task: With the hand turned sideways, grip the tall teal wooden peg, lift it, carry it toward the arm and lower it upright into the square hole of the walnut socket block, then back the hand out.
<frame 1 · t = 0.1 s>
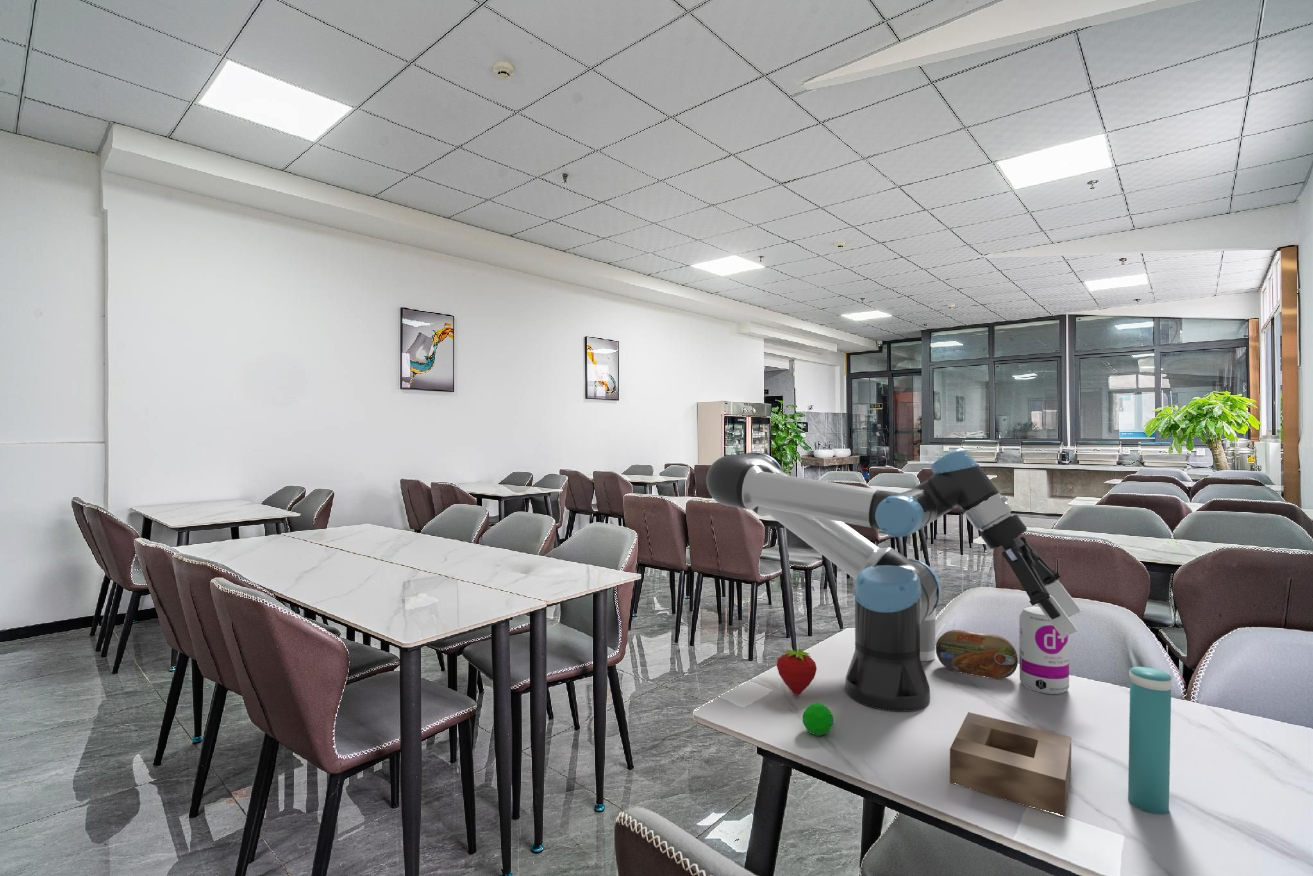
hand: (1072, 623, 115), 15 cm above the table, tool tilted 35°, fingers open, 13 cm apart
tin: (975, 674, 132), on the table
supplement can: (1043, 687, 124), on the table, touching gripper
socket block: (1011, 776, 93), on the table
strawberry: (796, 695, 122), on the table
peg: (1148, 804, 87), on the table
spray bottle: (918, 656, 141), on the table
polyhedron: (817, 734, 107), on the table
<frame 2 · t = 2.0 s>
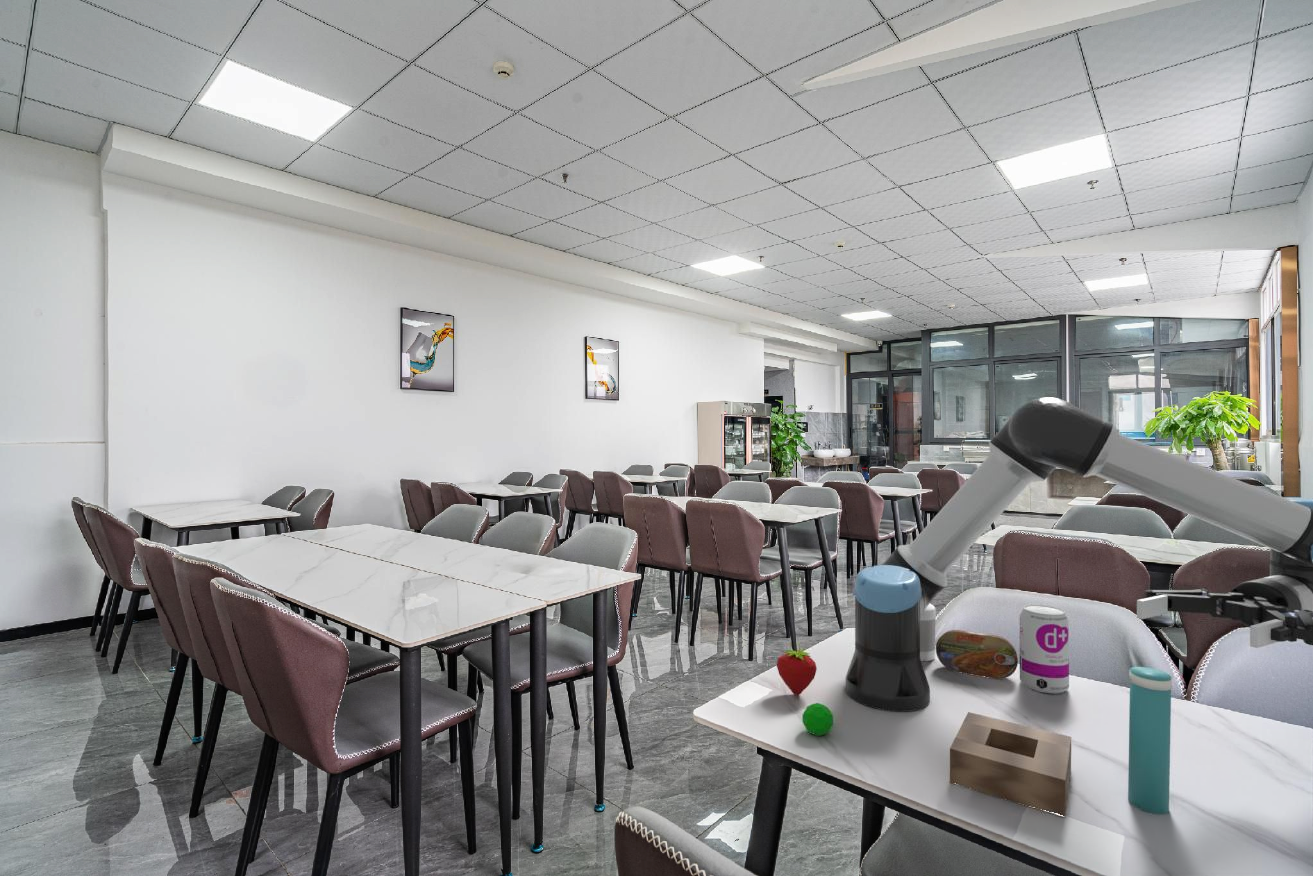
hand: (1192, 622, 90), 24 cm above the table, tool horizontal, fingers open, 13 cm apart
supplement can: (1043, 687, 124), on the table
everything else where it was.
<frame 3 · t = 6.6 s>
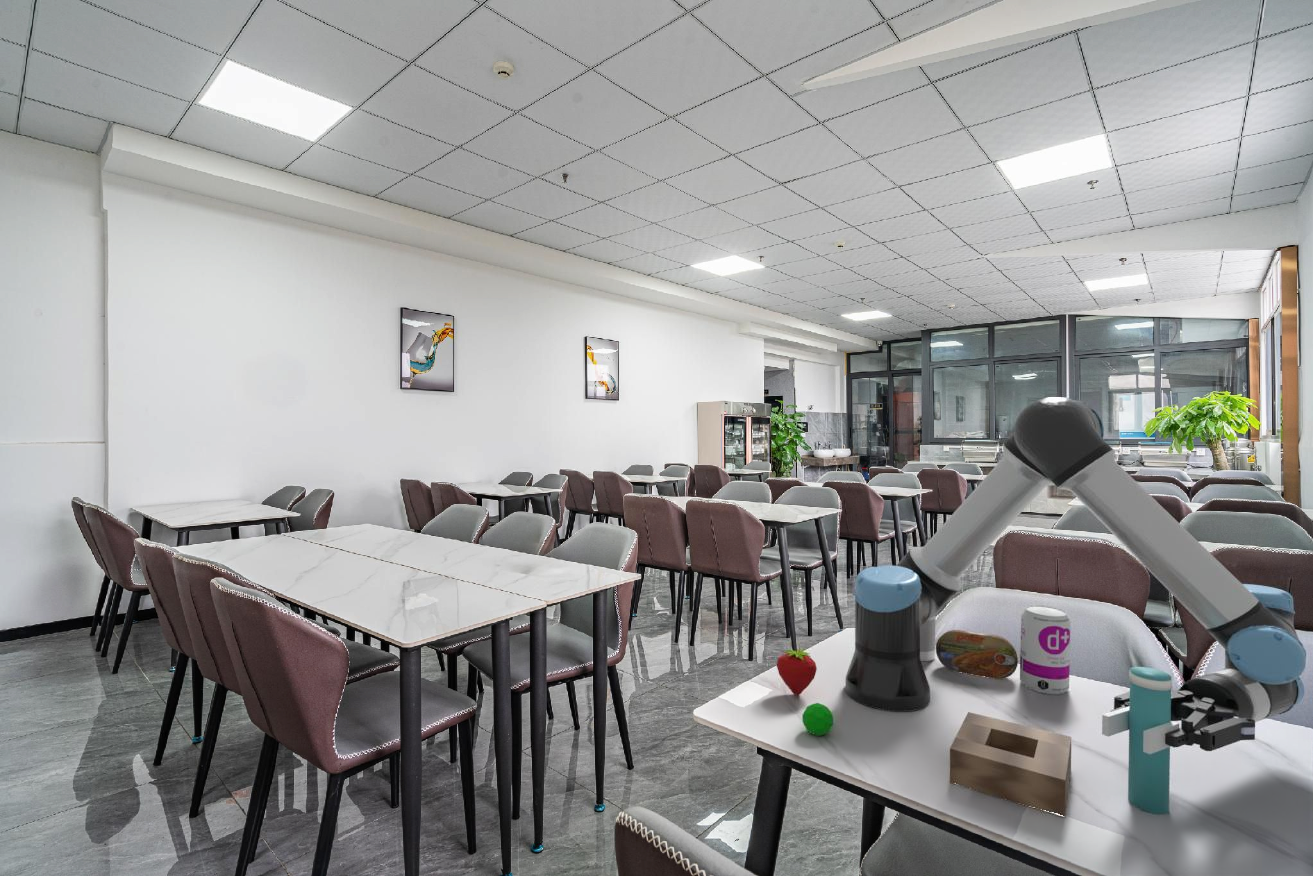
hand: (1125, 733, 84), 11 cm above the table, tool horizontal, fingers closed on peg, 4 cm apart
peg: (1148, 804, 87), on the table, touching gripper
everything else where it was.
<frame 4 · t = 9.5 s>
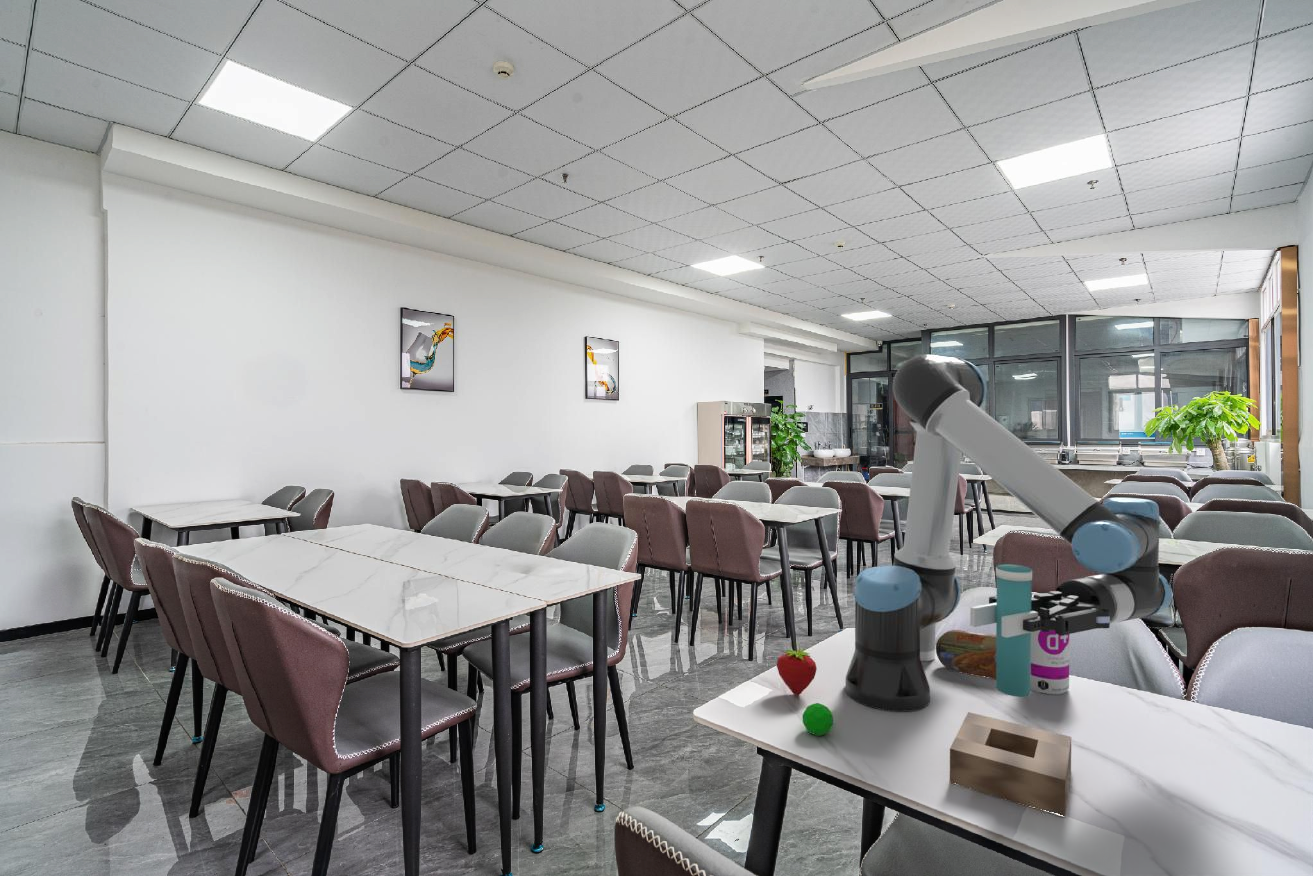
hand: (988, 621, 91), 24 cm above the table, tool horizontal, fingers closed on peg, 4 cm apart
peg: (1013, 690, 93), point 13 cm above the table, touching gripper
everything else where it was.
when the fingers open (12 cm above the table, at t = 12.3 s): peg drops 1 cm, resting in socket block.
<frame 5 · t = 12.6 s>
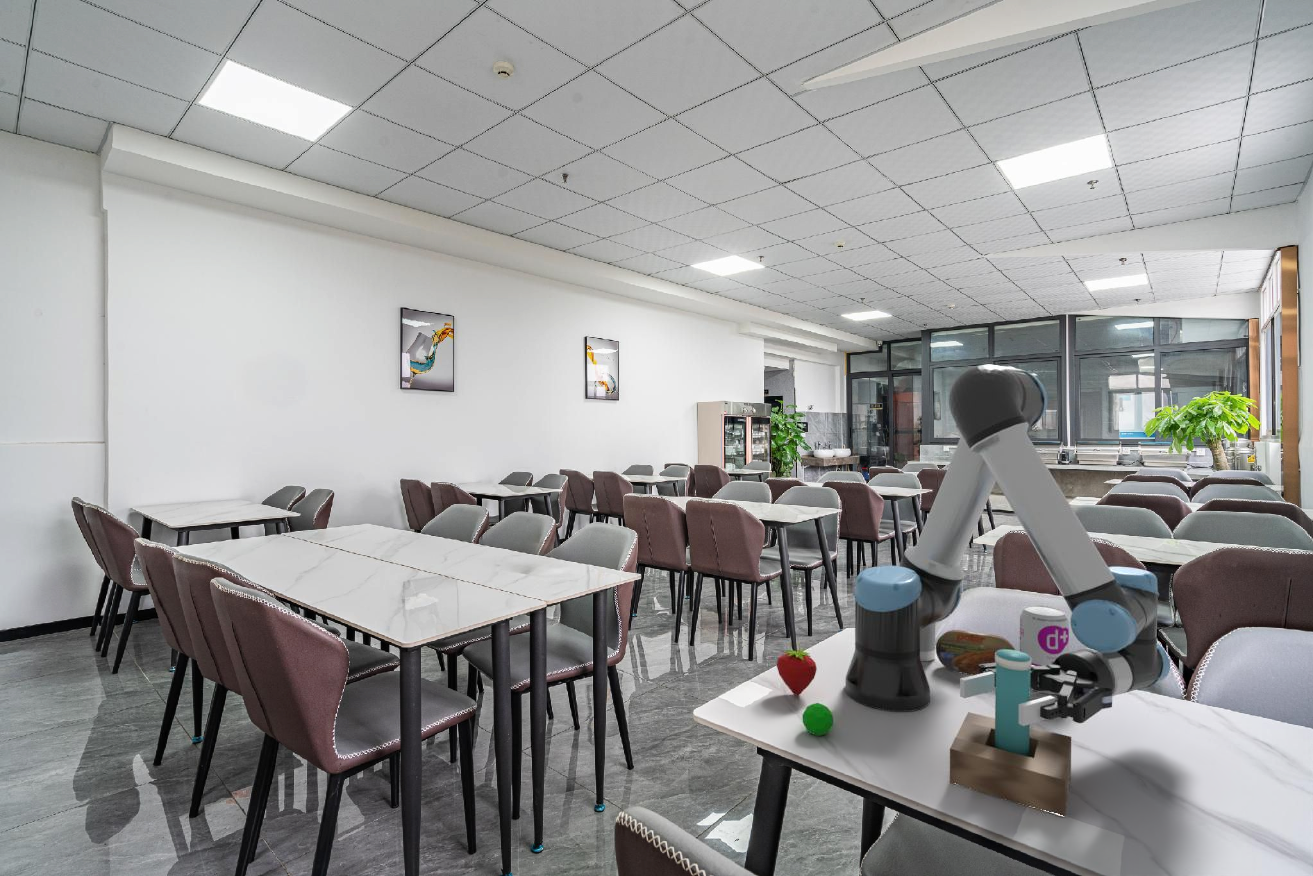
hand: (990, 701, 91), 12 cm above the table, tool horizontal, fingers open, 9 cm apart
peg: (1011, 776, 93), resting in socket block
everything else where it was.
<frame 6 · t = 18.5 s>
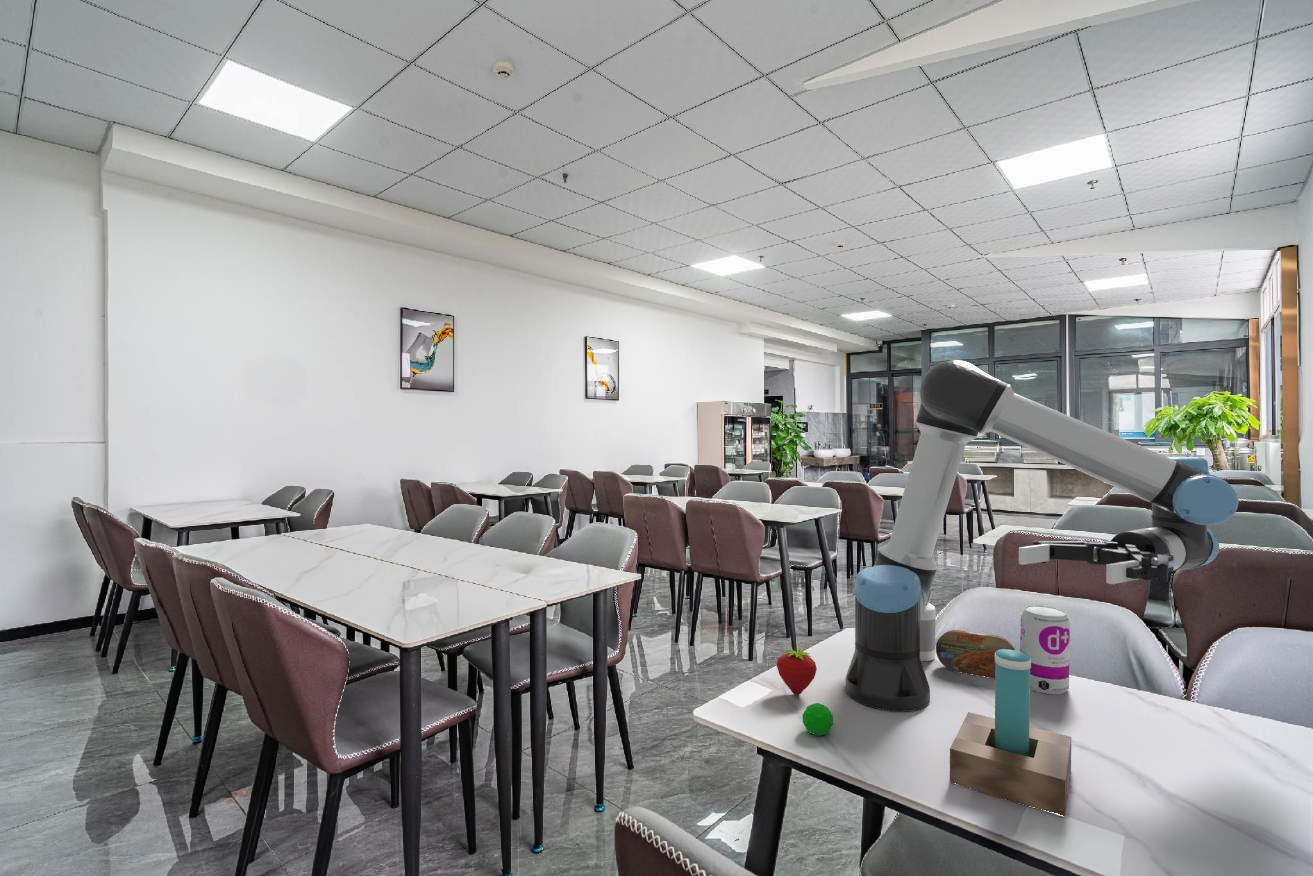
hand: (1061, 564, 98), 30 cm above the table, tool horizontal, fingers open, 13 cm apart
nothing on the table moved.
at the end: peg 0.0 cm off-centre on the socket block, point 0.0 cm above the socket block's base; peg tilted 0°; the gripper is holding nothing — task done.
